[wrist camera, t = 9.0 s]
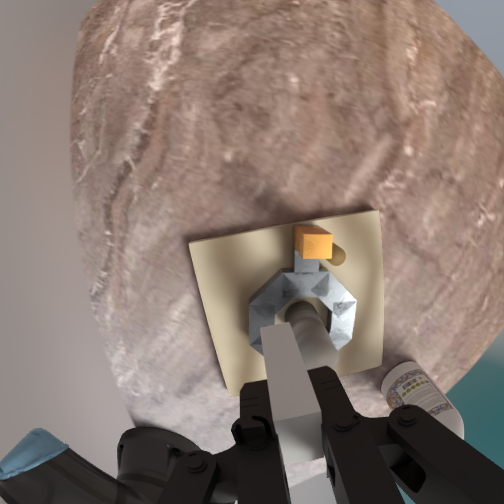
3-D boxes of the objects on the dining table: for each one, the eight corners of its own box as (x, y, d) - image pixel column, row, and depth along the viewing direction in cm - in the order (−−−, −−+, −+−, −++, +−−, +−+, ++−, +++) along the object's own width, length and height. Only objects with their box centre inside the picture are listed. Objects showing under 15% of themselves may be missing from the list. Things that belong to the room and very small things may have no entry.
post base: (230, 391, 35) (226, 448, 25) (190, 241, 30) (165, 268, 20) (378, 360, 34) (409, 407, 24) (374, 209, 29) (424, 222, 20)
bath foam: (371, 385, 35) (428, 494, 16) (407, 352, 34) (484, 449, 15) (394, 402, 36) (447, 496, 17) (426, 371, 35) (494, 458, 16)
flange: (343, 355, 32) (357, 383, 26) (249, 361, 32) (250, 392, 26) (357, 224, 28) (380, 234, 23) (247, 224, 28) (248, 234, 23)
